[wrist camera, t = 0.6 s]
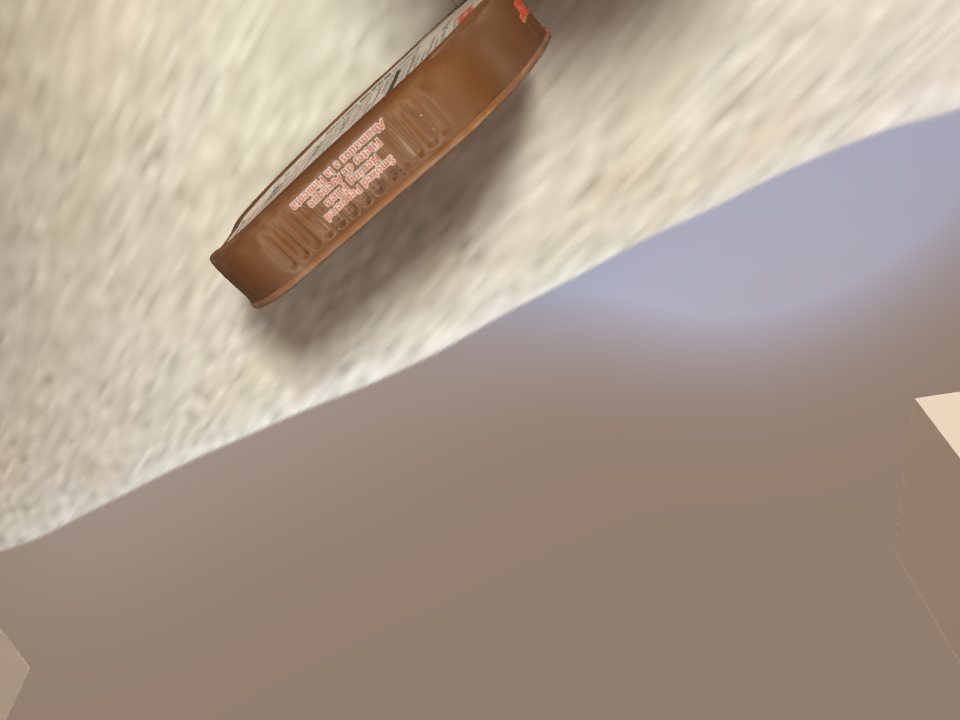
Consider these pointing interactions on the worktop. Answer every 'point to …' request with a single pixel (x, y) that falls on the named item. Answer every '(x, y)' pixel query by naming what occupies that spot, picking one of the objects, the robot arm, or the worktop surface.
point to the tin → (381, 145)
